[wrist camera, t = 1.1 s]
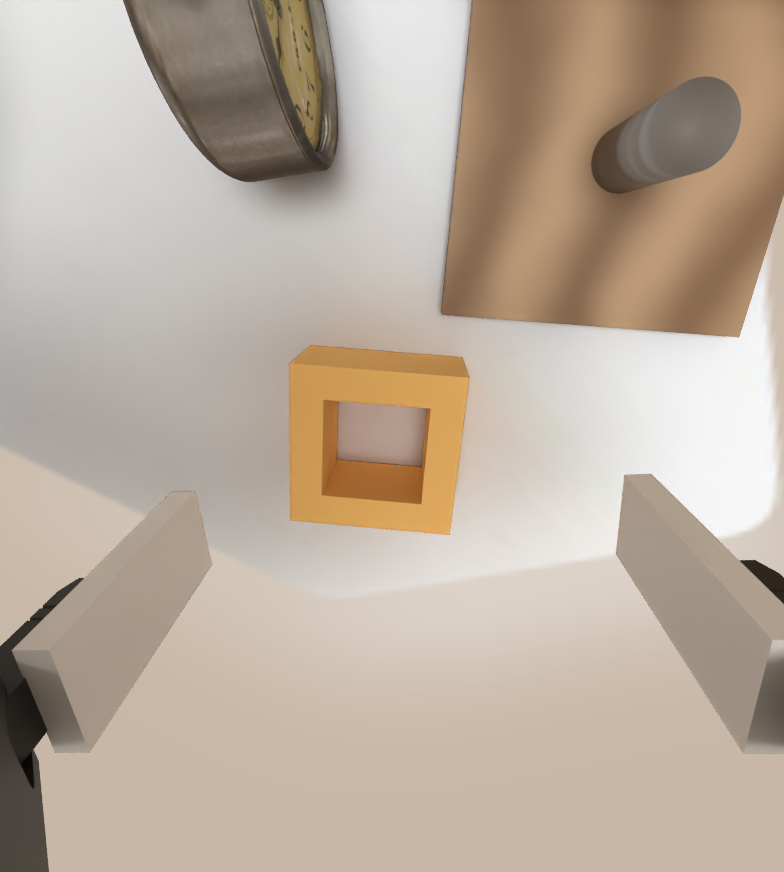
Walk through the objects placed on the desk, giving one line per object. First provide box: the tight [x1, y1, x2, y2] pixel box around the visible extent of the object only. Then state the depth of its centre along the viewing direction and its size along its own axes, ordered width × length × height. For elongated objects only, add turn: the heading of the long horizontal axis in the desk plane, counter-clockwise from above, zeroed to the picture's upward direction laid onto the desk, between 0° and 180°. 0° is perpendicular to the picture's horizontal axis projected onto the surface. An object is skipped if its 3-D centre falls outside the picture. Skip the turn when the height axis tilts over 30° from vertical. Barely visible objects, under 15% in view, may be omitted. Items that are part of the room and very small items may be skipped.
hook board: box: [441, 0, 784, 337], centre depth 22 cm, size 16×16×8 cm
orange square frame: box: [289, 345, 469, 535], centre depth 29 cm, size 9×9×5 cm
